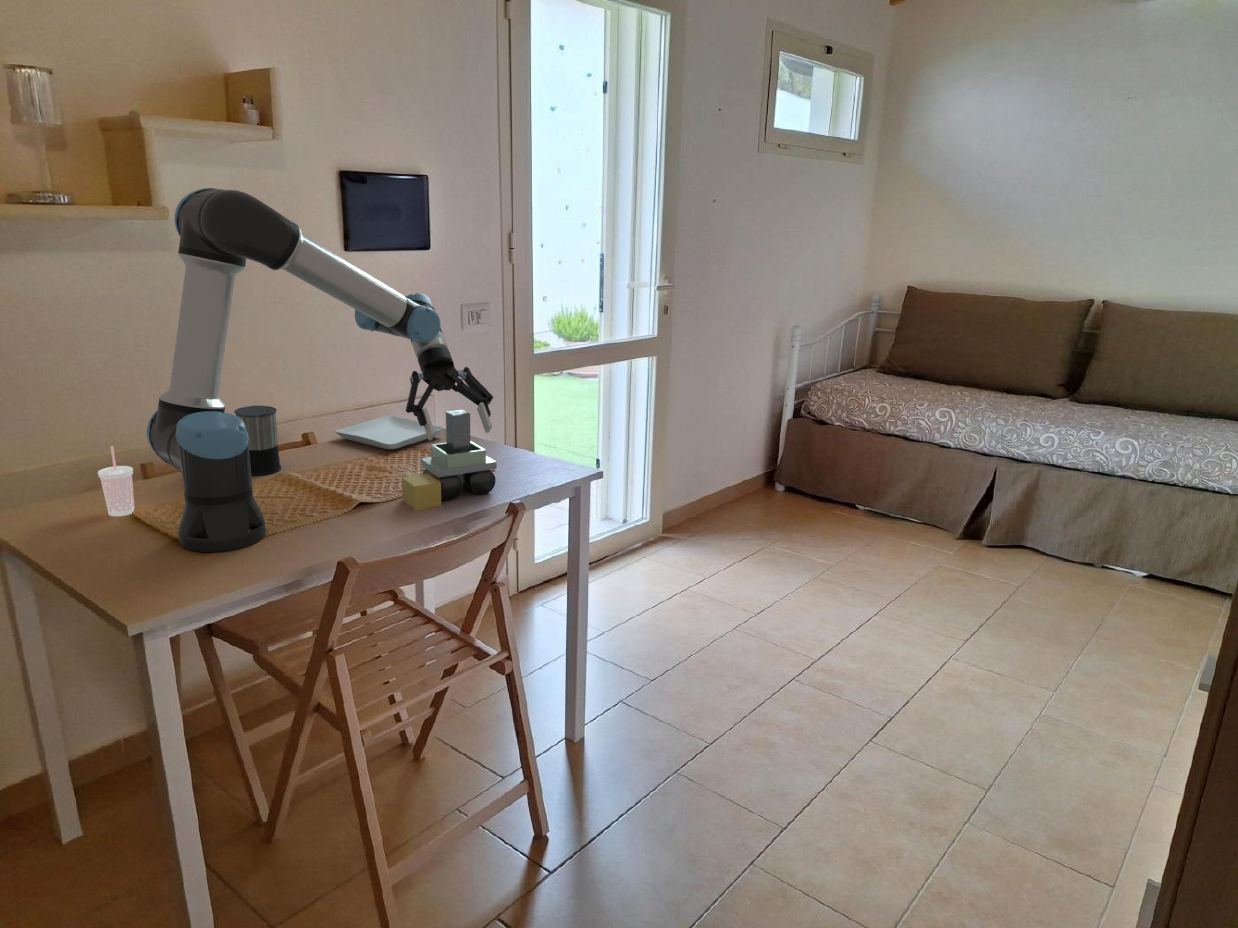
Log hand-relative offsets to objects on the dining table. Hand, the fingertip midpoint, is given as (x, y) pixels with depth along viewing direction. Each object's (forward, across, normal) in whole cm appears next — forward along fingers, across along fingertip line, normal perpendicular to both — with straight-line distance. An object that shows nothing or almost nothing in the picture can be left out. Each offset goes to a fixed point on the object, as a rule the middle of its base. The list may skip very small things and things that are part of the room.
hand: (461, 433), depth 182 cm
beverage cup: (-5, -65, +25) cm, 70 cm away
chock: (+11, -10, +9) cm, 18 cm away
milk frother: (-17, -39, +37) cm, 56 cm away
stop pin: (+3, 0, +6) cm, 7 cm away
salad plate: (-25, +1, +46) cm, 52 cm away
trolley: (+9, 0, +11) cm, 14 cm away
